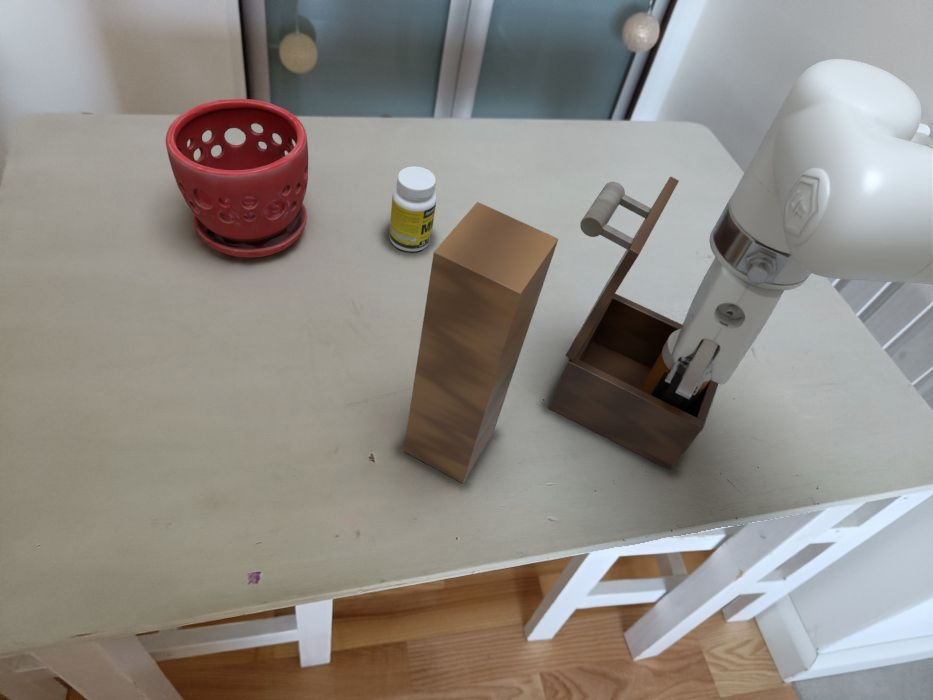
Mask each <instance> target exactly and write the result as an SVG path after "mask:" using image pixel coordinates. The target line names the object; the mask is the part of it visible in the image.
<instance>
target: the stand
mask: <svg viewBox="0 0 933 700" xmlns="http://www.w3.org/2000/svg"><path fill="white" fill-rule="evenodd" d="M558 242H559V238H557V237H556V236H553V235H551V234H549V233H547V232H544V231H542V230H540V229H538V228H536V227H534V226H532V225H530V224H527V223H525V222H523V221H521V220H519V219H516V218H514V217H512V216H510V215H508V214H506V213H504V212H502V211H499V210H496V209H494V208H493V207H490V206H488V205H486V204H483V203H482V202H480V201H476V203H475V204H474V205H473V206H472V207H471V208H470V209H469V210H468V212H467V213H466V214H465V215H464V217H462V219H461V220H460V221H459V222H458V223H457V225H456V226H455V227H454V228H453V229H452V230H451V231H450V233H449V234H448V235H447V236H446V237H445V238H444V239H443V241H442V242H441V243H440V244H439V245H438V246H437V247H436V249H435V250H434V251H433V254H432V259H431V260H432V261H431V266H430V267H431V268H430V275H429V280H428V287H427V293H426V294H427V295H426V302H425V308H424V314H423V320H422V327H421V334H420V340H419V348H418V354H417V360H416V366H415V372H414V379H413V386H412V391H411V398H410V399H411V400H410V404H409V405H410V406H409V413H408V417H407V418H408V419H407V426H406V432H405V438H404V439H405V440H404V445H403V452H405V453H406V454H409V455H410V456H412V457H414V458H416V459H417V460H419V461H421V462H423V463H425V464H426V465H428V466H430V467H432V468H433V469H436V470H437V471H438V472H441V473H443V474H444V475H446V476H448V477H450V478H452V479H453V480H456V481H457V482H459V483H461V484H464V482H465V481H466V480H467V478H468V476H469V475H470V473H471V471H472V469H473V468H474V466H475V465H476V463H477V461H478V459H479V458H480V456H481V455H482V453H483V451H484V450H485V448H486V446H487V445H488V443H489V441H490V440H491V438H492V436H493V435H494V432H495V429H496V426H497V424H498V421H499V417H500V414H501V412H502V409H503V405H504V402H505V399H506V397H507V393H508V390H509V387H510V384H511V382H512V379H513V375H514V372H515V369H516V366H517V364H518V361H519V358H520V354H521V352H522V349H523V346H524V343H525V340H526V338H527V334H528V332H529V329H530V326H531V323H532V319H533V316H534V314H535V310H536V307H537V304H538V302H539V298H540V297H541V293H542V290H543V286H544V283H545V281H546V278H547V275H548V271H549V269H550V265H551V262H552V260H553V257H554V254H555V251H556V247H557V245H558Z"/></svg>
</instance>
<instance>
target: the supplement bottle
mask: <svg viewBox="0 0 933 700" xmlns="http://www.w3.org/2000/svg"><path fill="white" fill-rule="evenodd" d="M436 182H437V179H436V175H435V174H434V173H433V172H432V171H431V170H430V169H427V168H425V167H422V166H407V167H404V168H403V169H401V170H400V171H399V172H398V174H397V180H396V185H395V187H394V189H393V191H392V194H391V195H392V196H391V198H392V199H391V209H390V219H389V229H388V236H389V241H390V242H391V244H392V245H393V246H394V247H396V249H399V250H402V251H403V252H404V251H405V252H419V251H422V250H424V249H426V248H427V247H428V246H429V245H430V242H431V239H432V232H433V226H434V222H435V221H434V220H435V215H436V214H435V213H436V207H437V199H438V198H437V193H436V184H437V183H436Z"/></svg>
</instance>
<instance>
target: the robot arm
mask: <svg viewBox="0 0 933 700" xmlns="http://www.w3.org/2000/svg"><path fill="white" fill-rule="evenodd" d="M922 115H923V114H922V105H921V102H920V100H919V97H918V96H917V95H916V92H914V90H913V89H912V88H911V87H910V86H909V85H908V84H907V83H906V82H904V81H903V80H901V79H900V78H899V77H896V76H895V75H894V74H893V73H891V72H888V71H887V70H884V69H882V68H880V67H878V66H875V65H873V64H869V63H866V62H863V61H859V60H853V59H847V58H831V59H826V60H825V59H824V60H822V61H818V62H815V63H814V64H813V65H811V66H809V67H807V68H806V69H805V70H804V71H803V72H802V73H801V74H800V75H799V76H798V77H797V79H796V81H795V82H794V83H793V85H792V86H791V88H790V90H789V92H788V93H787V96H786V97H785V98H784V100H783V102H782V104H781V106H780V107H779V110H778V112H776V115H775V117H774V119H773V120H772V122H771V124H770V125H769V128H768V130H767V131H766V133H765V135H764V137H763V138H762V140H761V142H760V143H759V146H758V147H757V149H756V151H755V153H754V155H753V156H752V158H751V159H750V162H749V163H748V165H747V168H746V169H745V171H744V173H743V175H742V177H741V179H740V180H739V182H738V184H737V186H736V188H734V191H733V192H732V194H731V196H730V197H729V200H728V201H727V203H726V205H725V207H724V209H723V210H722V212H721V214H720V216H719V217H718V219H717V221H716V223H715V225H714V226H713V228H712V230H711V232H710V234H709V246H710V249H711V252H712V254H713V256H714V258H713V260H712V262H711V264H710V266H709V267H708V268H707V271H706V273H705V275H704V277H703V278H702V279H701V280H702V281H701V282H700V284H699V286H698V288H697V291H696V293H695V294H694V296H693V299H692V301H691V303H690V305H689V308H688V310H687V313H686V315H685V318H684V321H683V323H682V328H681V330H680V333H679V336H678V339H677V341H676V344H675V347H674V349H673V352H672V359H673V361H674V363H673V365H672V367H671V369H670V370H669V372H668V373H667V372H664V374H663V375H662V377H661V379H660V380H659V382H658V383H657V385H656V387H655V388H654V390H653V392H652V393H651V395H652V396H654V397H656V398H658V399H660V400H662V401H664V402H666V403H668V404H670V405H672V406H674V407H676V408H678V409H680V410H682V411H684V412H685V411H686V409H687V408H688V406H689V405H690V403H691V402H692V401H693V399H694V398H695V396H696V395H697V394H698V392H699V389H700V387H701V385H702V384H703V382H704V380H705V379H706V377H707V376H708V374H709V373H710V371H711V381H714V382H716V383H718V385H724V384H726V383H728V382H729V380H730V379H731V377H732V376H733V374H734V372H735V371H736V369H737V368H738V367H739V365H740V364H741V363H742V361H743V359H744V358H745V356H746V354H747V353H748V352H749V350H750V349H751V347H752V346H753V344H754V343H755V341H756V339H757V338H758V337H759V335H760V333H761V332H762V331H763V329H764V327H765V326H766V323H768V320H769V319H770V317H771V316H772V314H773V313H774V310H775V309H776V308H777V305H778V303H779V301H780V300H781V298H782V296H783V294H784V292H785V291H790V290H794V289H797V288H799V287H801V286H802V285H803V284H805V282H806V281H807V280H808V279H809V277H810V276H811V274H812V275H816V276H818V277H823V278H827V279H828V278H829V279H835V280H847V281H848V280H849V281H864V282H866V281H867V282H879V283H880V282H882V283H906V284H920V285H921V284H922V285H933V144H925V143H924V144H923V143H917V142H913V141H912V140H913V138H914V137H915V135H916V134H917V131H918V129H919V127H920V125H921V122H922V117H923V116H922ZM693 352H695V353H694V355H693ZM682 363H683V364H685V365H687V366H688V367H687V368H686V370H685V372H684V374H683V375H681V374H679V373H677V372H678V370H679V368H680V366H681V365H682Z"/></svg>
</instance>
